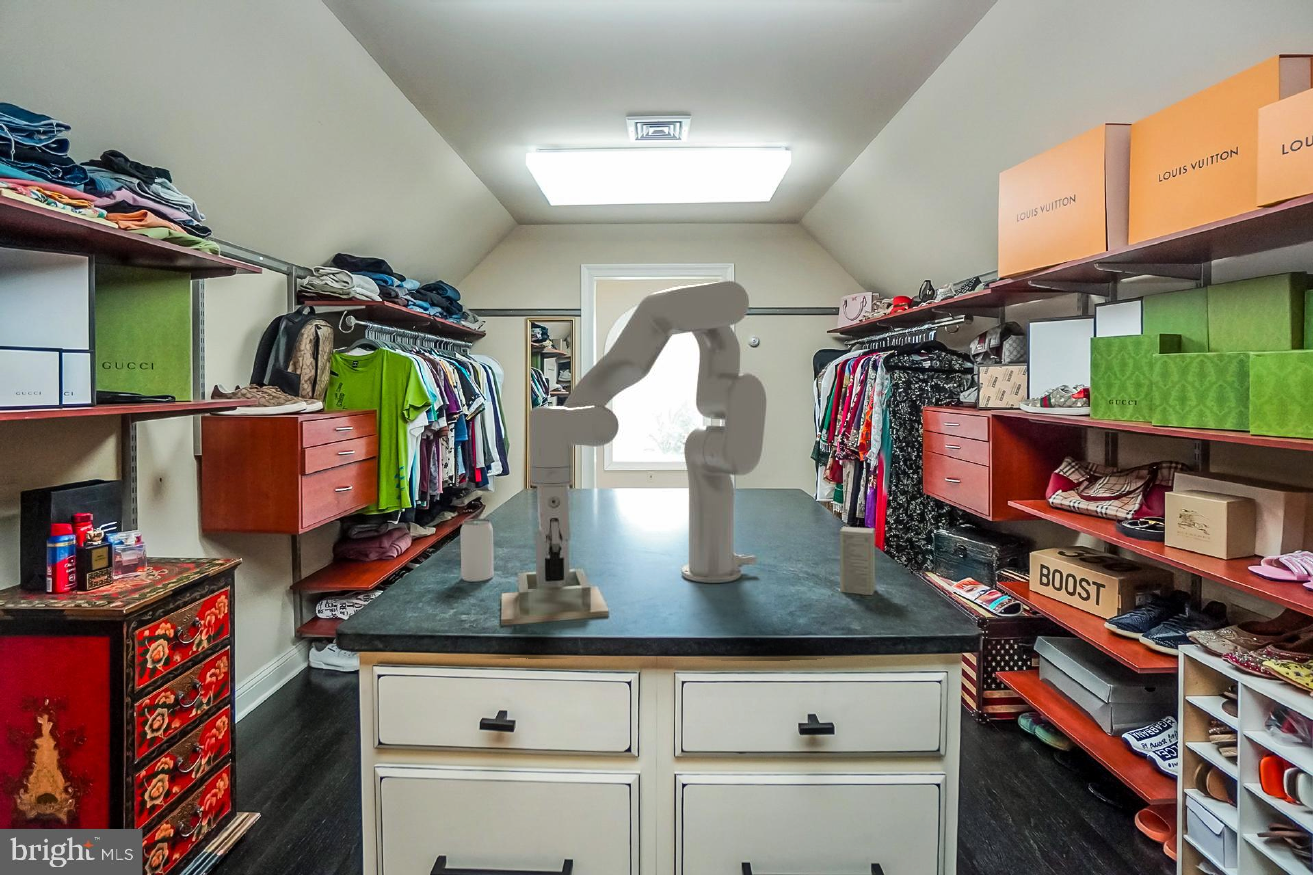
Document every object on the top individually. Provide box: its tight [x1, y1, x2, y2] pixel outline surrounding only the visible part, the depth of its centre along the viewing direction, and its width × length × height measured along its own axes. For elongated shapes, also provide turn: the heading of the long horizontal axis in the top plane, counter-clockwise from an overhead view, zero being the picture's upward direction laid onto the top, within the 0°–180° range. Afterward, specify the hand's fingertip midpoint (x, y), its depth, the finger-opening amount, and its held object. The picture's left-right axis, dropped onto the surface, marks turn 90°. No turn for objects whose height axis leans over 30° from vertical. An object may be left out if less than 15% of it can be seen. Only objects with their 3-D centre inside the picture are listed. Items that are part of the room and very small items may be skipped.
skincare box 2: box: [839, 526, 876, 596], centre depth 120 cm, size 6×4×12 cm
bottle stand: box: [500, 568, 610, 626], centre depth 111 cm, size 18×14×5 cm
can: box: [460, 518, 495, 583], centre depth 129 cm, size 6×6×12 cm
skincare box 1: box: [534, 525, 570, 589], centre depth 111 cm, size 6×4×12 cm
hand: (552, 573), depth 111 cm, fingers closed on skincare box 1, 7 cm apart
